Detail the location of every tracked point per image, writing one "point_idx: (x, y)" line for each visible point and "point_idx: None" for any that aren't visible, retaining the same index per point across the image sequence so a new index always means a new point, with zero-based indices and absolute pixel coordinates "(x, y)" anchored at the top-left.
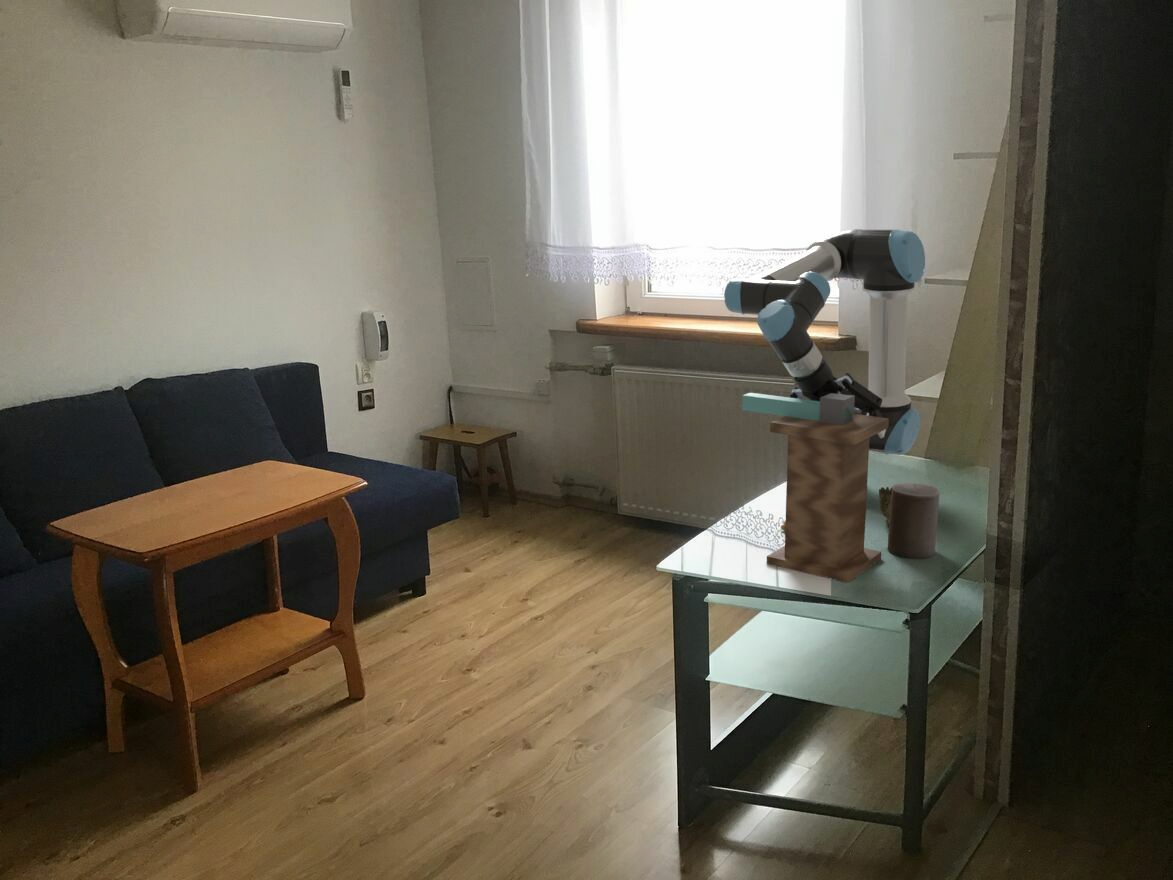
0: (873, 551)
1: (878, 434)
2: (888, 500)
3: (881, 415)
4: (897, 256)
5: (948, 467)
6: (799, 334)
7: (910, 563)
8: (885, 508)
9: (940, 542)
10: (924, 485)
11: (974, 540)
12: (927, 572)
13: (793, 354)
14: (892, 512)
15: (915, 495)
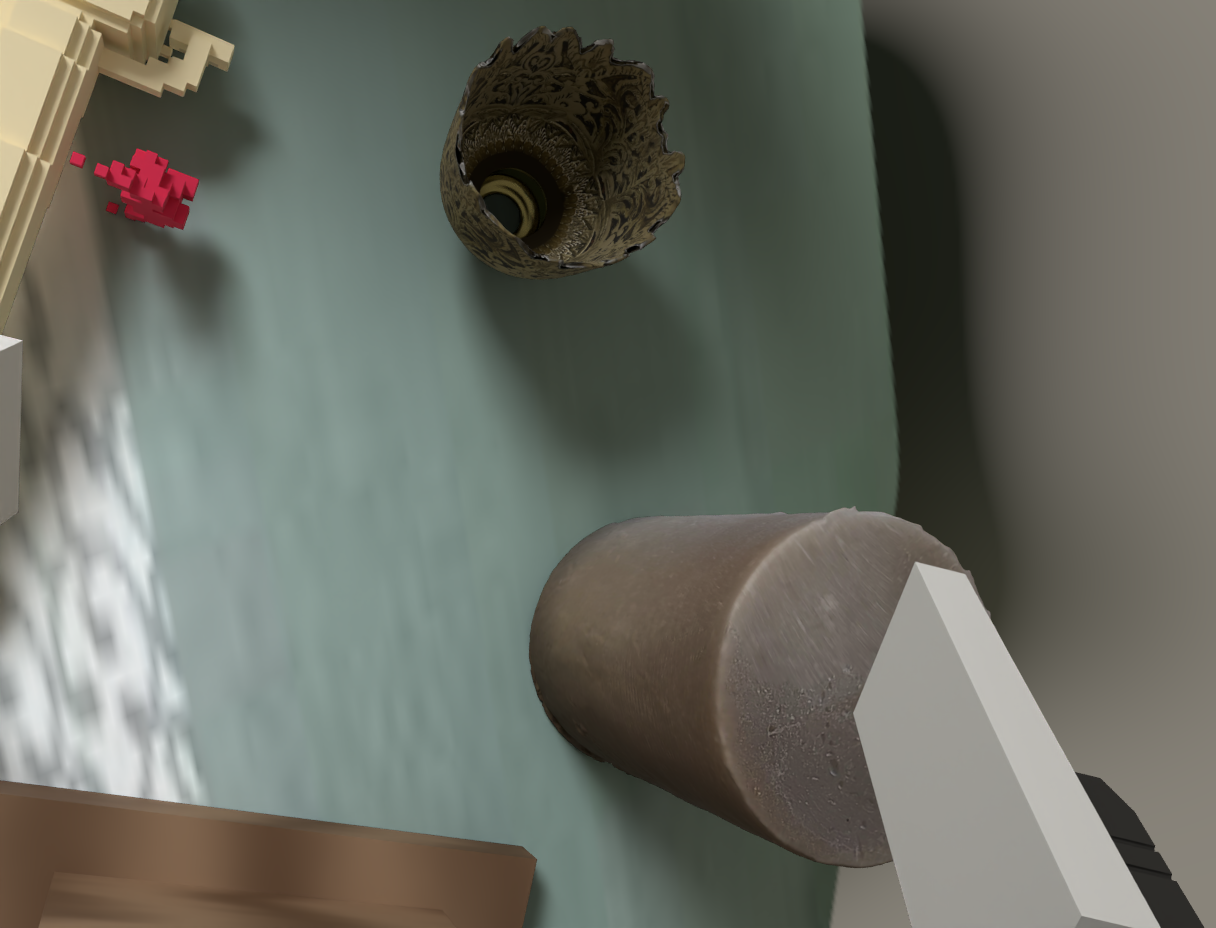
0: (494, 880)
1: (873, 763)
2: (533, 264)
3: (1146, 840)
4: None
5: None
6: None
7: (667, 835)
8: (493, 259)
9: (755, 449)
10: (905, 557)
11: (883, 363)
12: (752, 921)
13: None
14: (656, 763)
15: (890, 858)
